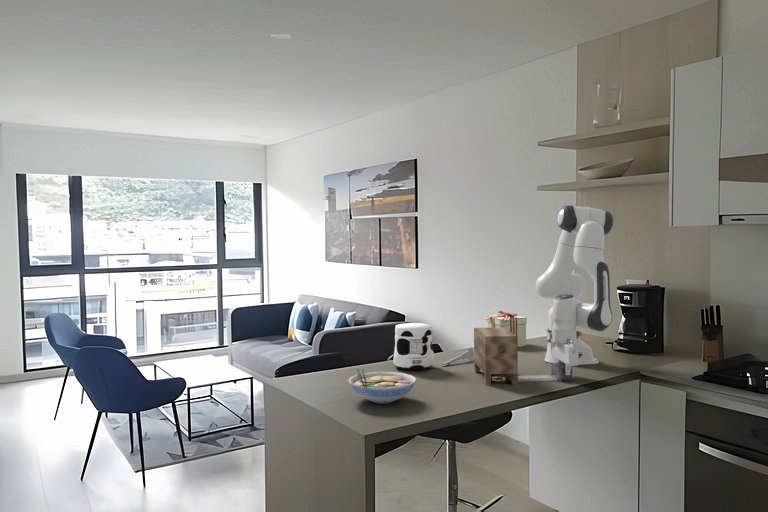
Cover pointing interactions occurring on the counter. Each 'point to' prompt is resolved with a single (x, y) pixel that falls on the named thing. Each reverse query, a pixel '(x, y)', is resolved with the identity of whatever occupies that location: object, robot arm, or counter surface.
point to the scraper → (556, 375)
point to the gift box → (510, 324)
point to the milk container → (413, 346)
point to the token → (498, 378)
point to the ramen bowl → (382, 385)
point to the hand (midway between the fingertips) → (564, 372)
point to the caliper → (462, 356)
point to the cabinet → (496, 353)
